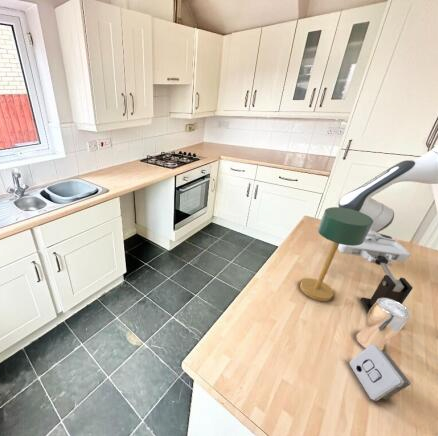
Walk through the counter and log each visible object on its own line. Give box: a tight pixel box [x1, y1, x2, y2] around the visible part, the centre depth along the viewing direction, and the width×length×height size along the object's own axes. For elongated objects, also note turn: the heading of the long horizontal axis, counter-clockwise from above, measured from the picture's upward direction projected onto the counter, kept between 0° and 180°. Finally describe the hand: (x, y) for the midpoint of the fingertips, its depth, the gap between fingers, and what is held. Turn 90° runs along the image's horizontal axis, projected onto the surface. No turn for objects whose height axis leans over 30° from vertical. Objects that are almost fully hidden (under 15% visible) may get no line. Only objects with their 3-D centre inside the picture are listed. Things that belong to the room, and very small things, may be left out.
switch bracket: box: [360, 274, 414, 313], centre depth 77 cm, size 9×7×14 cm
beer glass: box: [355, 298, 411, 351], centre depth 67 cm, size 7×7×15 cm
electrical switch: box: [349, 345, 412, 402], centre depth 60 cm, size 9×5×9 cm, turn 173°
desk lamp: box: [299, 206, 373, 302], centre depth 82 cm, size 12×12×32 cm
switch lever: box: [374, 255, 404, 292], centre depth 79 cm, size 14×3×3 cm, turn 162°
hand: (381, 262), depth 82 cm, fingers closed on switch lever, 3 cm apart
